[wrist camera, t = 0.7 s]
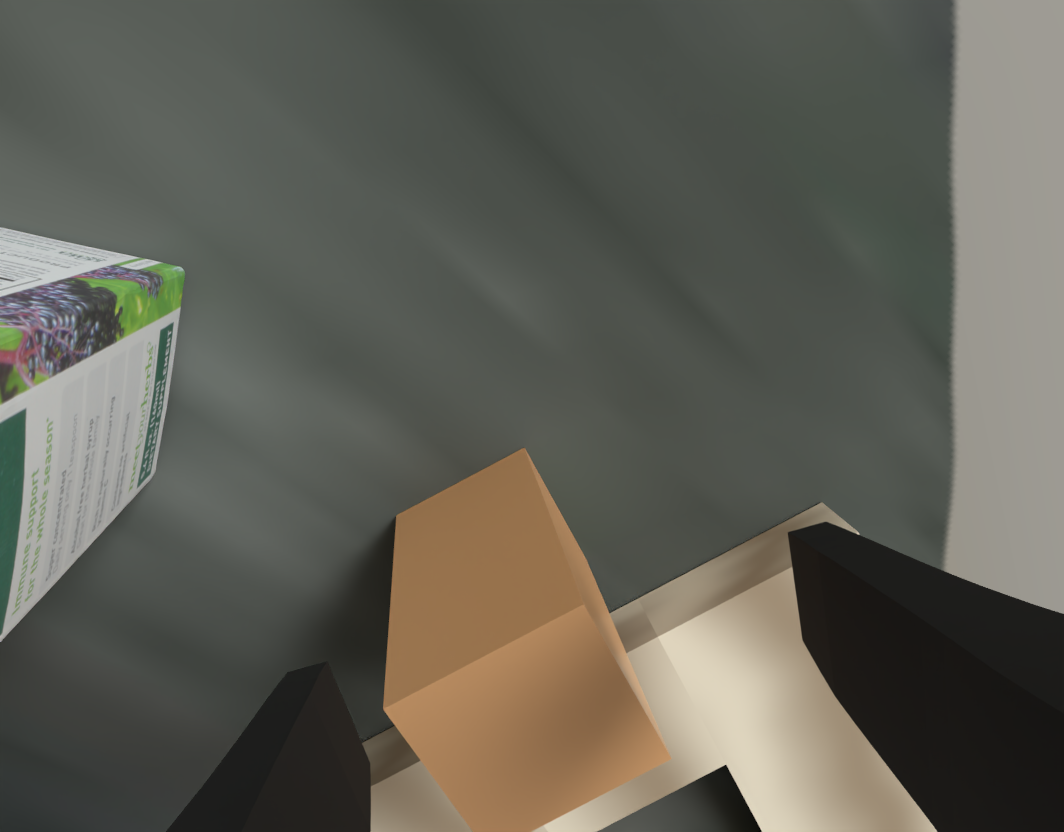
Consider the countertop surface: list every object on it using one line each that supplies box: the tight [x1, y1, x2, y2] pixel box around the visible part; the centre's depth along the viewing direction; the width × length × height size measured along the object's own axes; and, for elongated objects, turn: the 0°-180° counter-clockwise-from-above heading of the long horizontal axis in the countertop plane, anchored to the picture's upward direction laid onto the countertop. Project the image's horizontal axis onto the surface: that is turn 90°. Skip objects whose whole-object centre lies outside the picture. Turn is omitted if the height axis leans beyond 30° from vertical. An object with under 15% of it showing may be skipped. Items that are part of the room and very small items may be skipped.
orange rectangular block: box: [383, 448, 672, 832], centre depth 18 cm, size 4×4×8 cm
